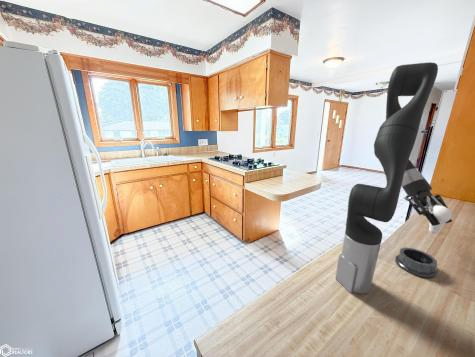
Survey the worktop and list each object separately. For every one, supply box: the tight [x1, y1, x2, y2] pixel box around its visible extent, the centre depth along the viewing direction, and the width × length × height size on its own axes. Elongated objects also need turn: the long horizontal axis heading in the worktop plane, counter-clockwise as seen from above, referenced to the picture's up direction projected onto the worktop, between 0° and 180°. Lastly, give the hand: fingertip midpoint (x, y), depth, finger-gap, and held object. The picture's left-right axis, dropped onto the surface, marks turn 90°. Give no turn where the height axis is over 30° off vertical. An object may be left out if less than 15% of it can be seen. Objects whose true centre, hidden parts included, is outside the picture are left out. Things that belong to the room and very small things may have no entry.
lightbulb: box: [428, 205, 453, 234], centre depth 68 cm, size 6×6×11 cm
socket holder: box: [394, 247, 438, 280], centre depth 67 cm, size 11×11×4 cm
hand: (442, 223), depth 67 cm, fingers closed on lightbulb, 6 cm apart
